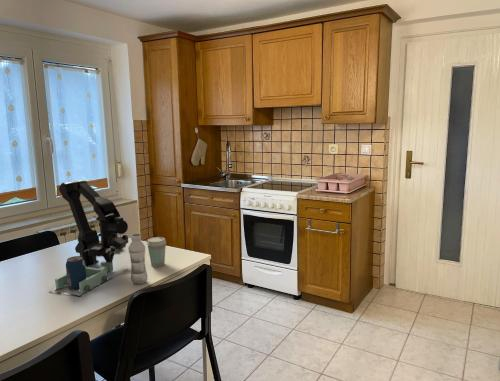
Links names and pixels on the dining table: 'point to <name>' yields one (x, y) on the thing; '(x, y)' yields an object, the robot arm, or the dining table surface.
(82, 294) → the rails
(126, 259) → the dining table surface
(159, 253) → the coffee cup
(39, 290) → the dining table surface
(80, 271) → the soda can
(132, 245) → the plastic bottle
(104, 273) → the cart
